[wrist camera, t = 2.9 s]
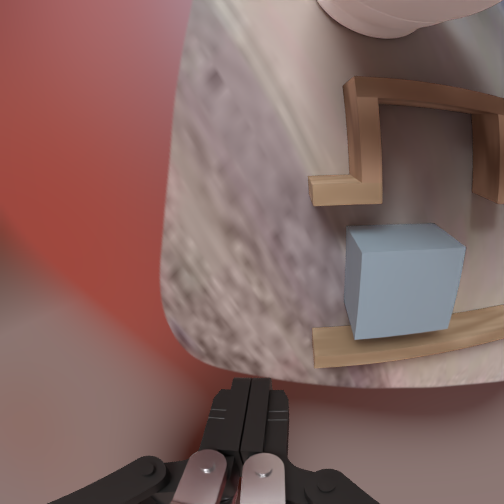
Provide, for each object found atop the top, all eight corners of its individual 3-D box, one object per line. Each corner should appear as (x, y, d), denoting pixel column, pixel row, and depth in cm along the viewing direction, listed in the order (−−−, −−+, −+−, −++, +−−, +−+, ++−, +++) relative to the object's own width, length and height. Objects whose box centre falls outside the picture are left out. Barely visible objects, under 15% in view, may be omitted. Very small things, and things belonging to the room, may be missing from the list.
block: (345, 225, 20) (362, 252, 15) (433, 222, 19) (466, 247, 14) (343, 299, 22) (354, 339, 18) (423, 293, 21) (447, 328, 17)
